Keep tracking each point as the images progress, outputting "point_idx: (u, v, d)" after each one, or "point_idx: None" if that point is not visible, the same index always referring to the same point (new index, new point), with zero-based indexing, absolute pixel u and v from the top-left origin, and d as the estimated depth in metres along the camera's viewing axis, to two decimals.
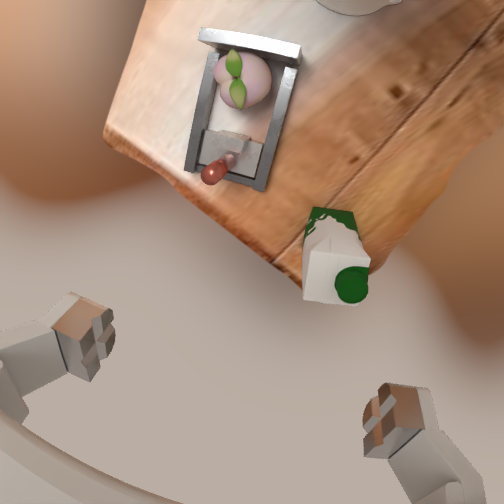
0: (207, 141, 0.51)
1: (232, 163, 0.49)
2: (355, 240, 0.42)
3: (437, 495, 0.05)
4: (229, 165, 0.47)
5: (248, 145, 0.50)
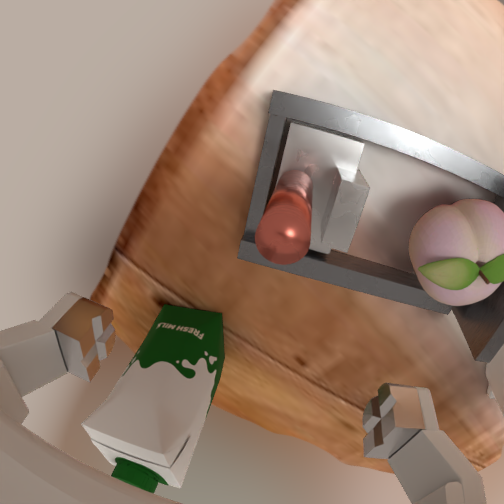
0: (340, 146, 0.22)
1: None
2: (194, 446, 0.25)
3: (437, 495, 0.05)
4: None
5: None
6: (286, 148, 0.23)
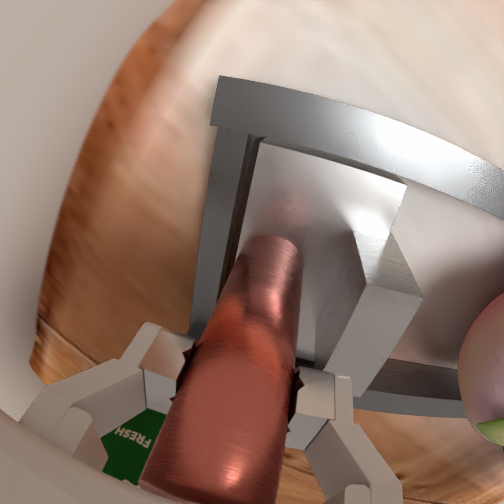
0: (359, 190, 0.11)
1: None
2: None
3: (338, 497, 0.05)
4: None
5: None
6: (252, 194, 0.12)
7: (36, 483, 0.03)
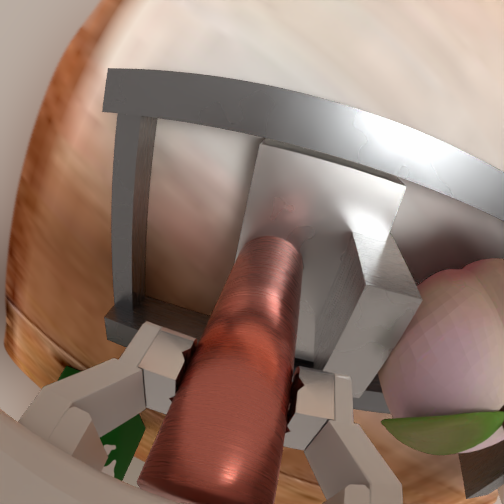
0: (359, 192, 0.11)
1: None
2: None
3: (338, 497, 0.05)
4: None
5: None
6: (251, 195, 0.12)
7: (36, 483, 0.03)
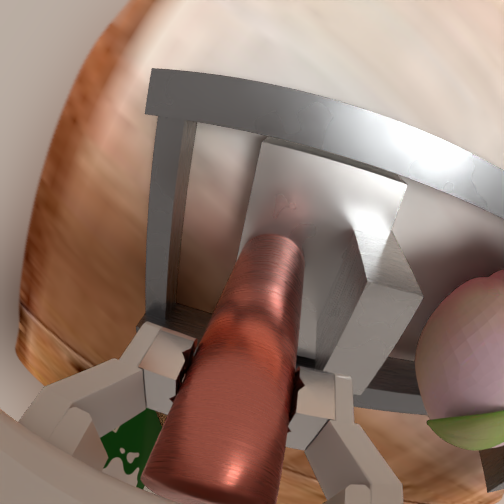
0: (360, 190, 0.11)
1: None
2: None
3: (338, 497, 0.05)
4: None
5: None
6: (254, 193, 0.12)
7: (36, 483, 0.03)
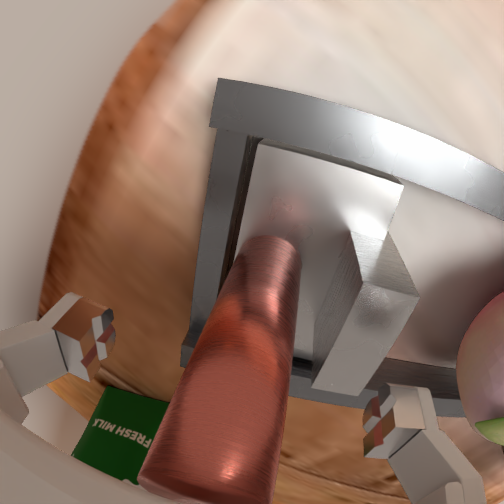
0: (356, 191, 0.11)
1: None
2: None
3: (437, 495, 0.05)
4: None
5: None
6: (250, 194, 0.12)
7: (36, 483, 0.03)
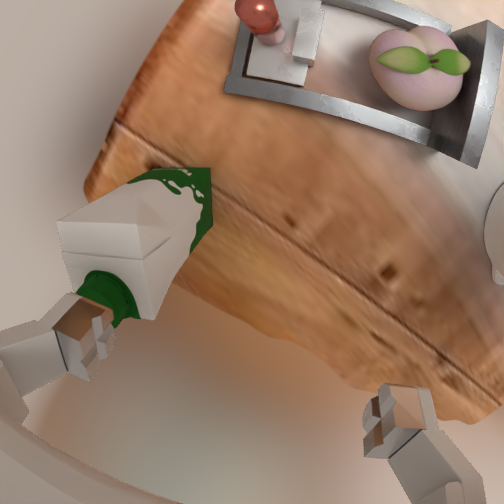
0: (303, 3, 0.24)
1: (270, 41, 0.24)
2: (175, 274, 0.26)
3: (437, 495, 0.05)
4: (268, 36, 0.22)
5: (300, 64, 0.27)
6: None
7: (36, 483, 0.03)
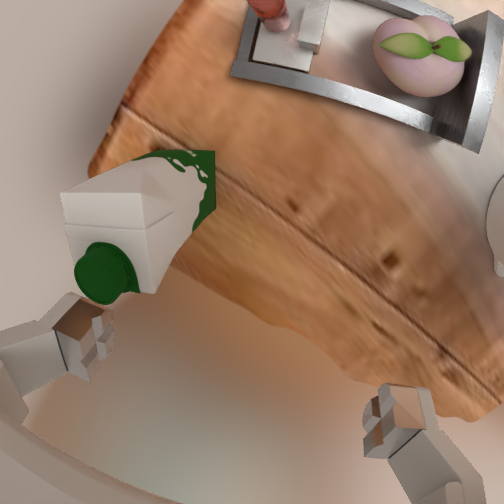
0: None
1: (276, 26, 0.24)
2: (177, 250, 0.26)
3: (437, 495, 0.05)
4: (275, 22, 0.22)
5: (306, 50, 0.27)
6: None
7: (36, 483, 0.03)
